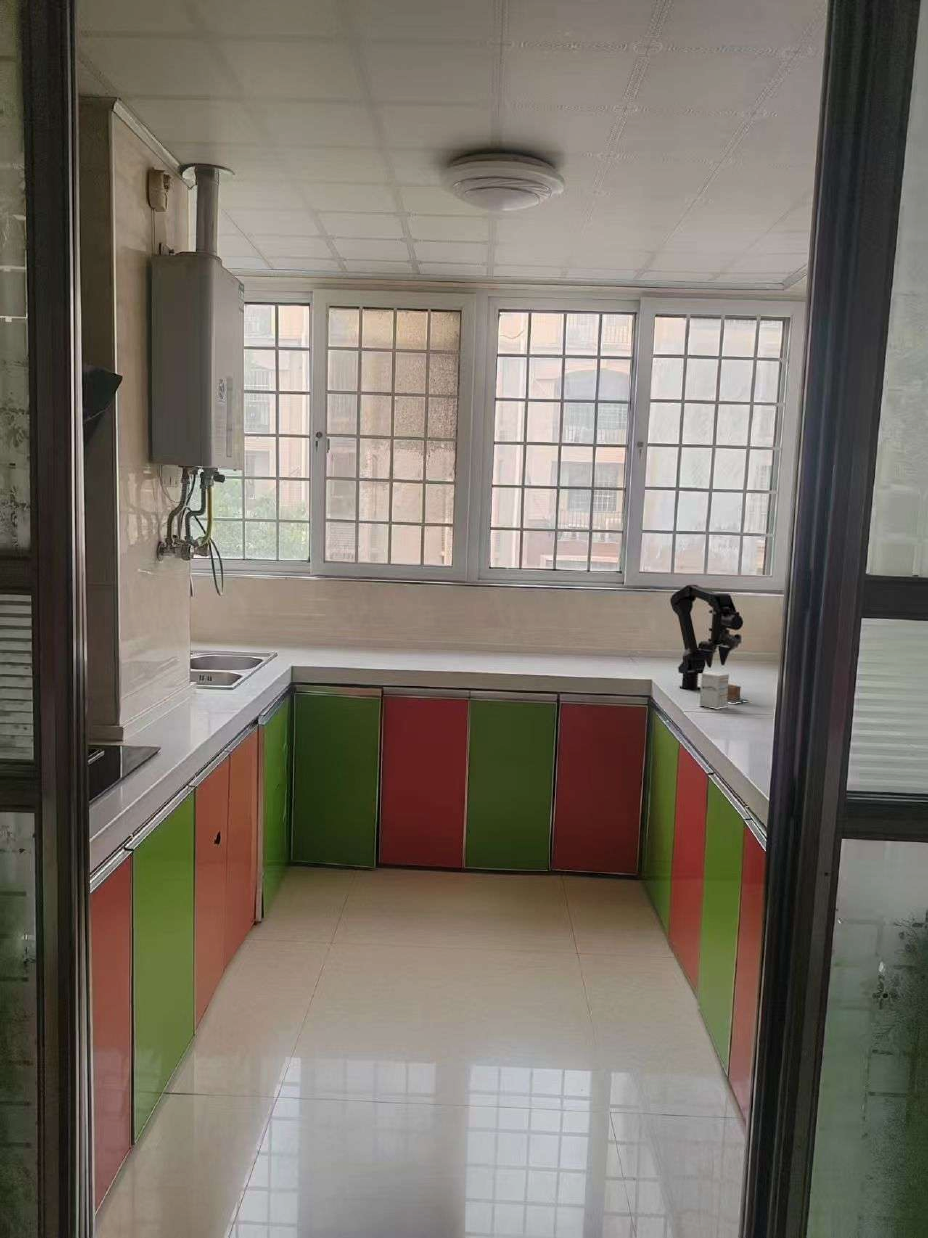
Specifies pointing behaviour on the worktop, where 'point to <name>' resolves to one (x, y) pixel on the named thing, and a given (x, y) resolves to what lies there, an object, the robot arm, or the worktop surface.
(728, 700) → the slate mat
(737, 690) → the walnut block
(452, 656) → the worktop surface
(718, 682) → the supplement box
